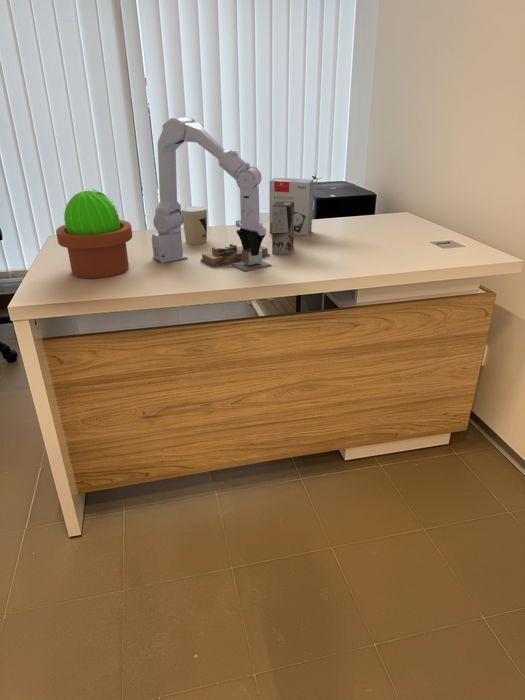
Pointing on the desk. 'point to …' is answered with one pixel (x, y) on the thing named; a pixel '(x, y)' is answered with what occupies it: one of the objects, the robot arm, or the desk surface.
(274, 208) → the coffee box
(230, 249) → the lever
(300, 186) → the hard drive box
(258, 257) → the brushed metal cube
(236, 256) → the body
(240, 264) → the mat
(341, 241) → the desk surface
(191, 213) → the coffee cup
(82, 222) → the potted cactus
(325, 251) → the desk surface
